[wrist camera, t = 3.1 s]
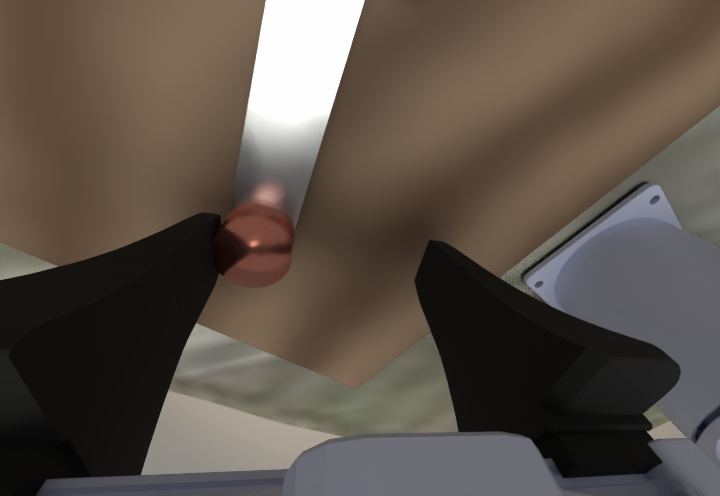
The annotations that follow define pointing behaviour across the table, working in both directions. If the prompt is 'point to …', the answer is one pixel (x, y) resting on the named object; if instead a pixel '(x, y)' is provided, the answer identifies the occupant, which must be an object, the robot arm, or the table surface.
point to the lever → (283, 134)
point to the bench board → (342, 142)
